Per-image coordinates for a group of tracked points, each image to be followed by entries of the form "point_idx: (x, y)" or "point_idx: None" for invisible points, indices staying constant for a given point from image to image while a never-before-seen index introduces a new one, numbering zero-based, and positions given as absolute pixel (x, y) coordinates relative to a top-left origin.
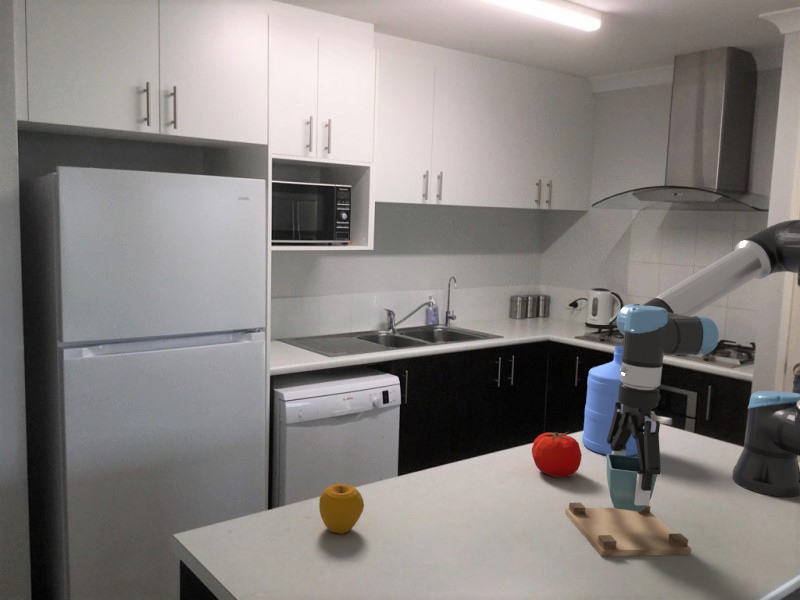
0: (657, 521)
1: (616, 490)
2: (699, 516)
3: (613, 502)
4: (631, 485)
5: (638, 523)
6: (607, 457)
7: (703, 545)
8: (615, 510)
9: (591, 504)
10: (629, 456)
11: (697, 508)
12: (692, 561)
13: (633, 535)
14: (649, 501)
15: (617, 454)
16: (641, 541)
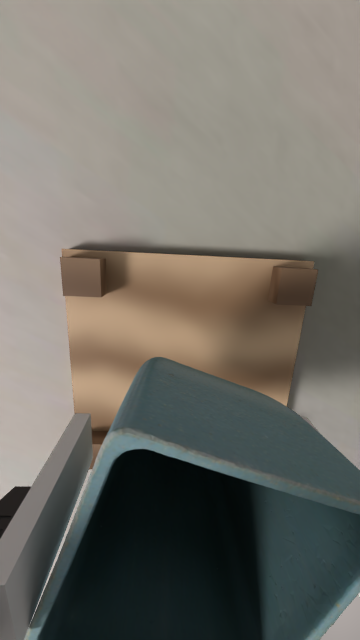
0: (159, 265)
1: (243, 528)
2: (93, 58)
3: (217, 477)
4: (285, 523)
5: (167, 327)
6: None
7: (273, 191)
8: (87, 349)
9: (24, 371)
10: (64, 557)
11: (25, 13)
12: (334, 277)
13: (227, 371)
14: (315, 428)
15: (25, 607)
16: (257, 366)
